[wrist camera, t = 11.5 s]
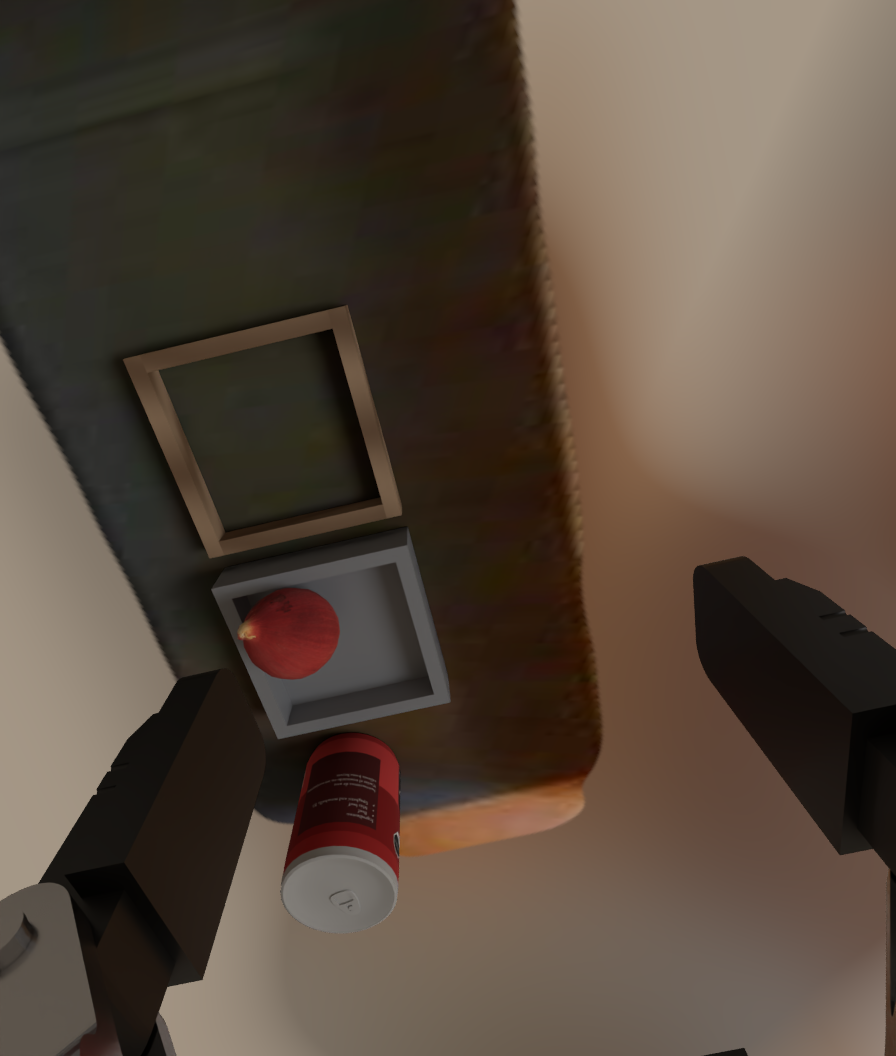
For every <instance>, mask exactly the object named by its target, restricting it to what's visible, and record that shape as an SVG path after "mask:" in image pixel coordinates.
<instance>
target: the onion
mask: <svg viewBox="0 0 896 1056" xmlns="http://www.w3.org/2000/svg"><path fill="white" fill-rule="evenodd" d="M237 635H238V638H237V639H239V640H243V644H244V648H245V650H246V652H247V654H248V656H249V658H250V660H251V661H252V663H253V664H254V665H255V666H256V667H258V668H259V669H261V670H262V671H264V672H265V673H267V674H268V675H270V676H271V677H275V678H279V679H290V680H294V679H302V678H305V677H307V676H309V675H311V674H314V673H315V672H317V671H318V670H319V669H321V668H322V667H323V666H324V665H325V664H326V663H327V662H328V661H329V660H330V658H331V657H332V655H333V653H334V651H335V649H336V647H337V645H338V639H339V635H340V627H339V619H338V617H337V615H336V613H335V611H334V609H333V607H332V606H331V605H330V603H329V602H328V601H327V600H326V599H324V598H323V597H322V596H320V595H319V594H318V593H316V592H314V591H311V590H309V589H301V588H283V589H280V590H277V591H275V592H273V593H271V594H269V595H267V596H265V597H263V598H262V599H260V600H259V601H258V602H257V603H256V604H255V605H254V606H253V607H252V609H251V610H250V612H249V613H248V615H247V616H246V618H245V621H244V623H242V624H241V625H240V626H239V628H238V631H237Z"/></svg>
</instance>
